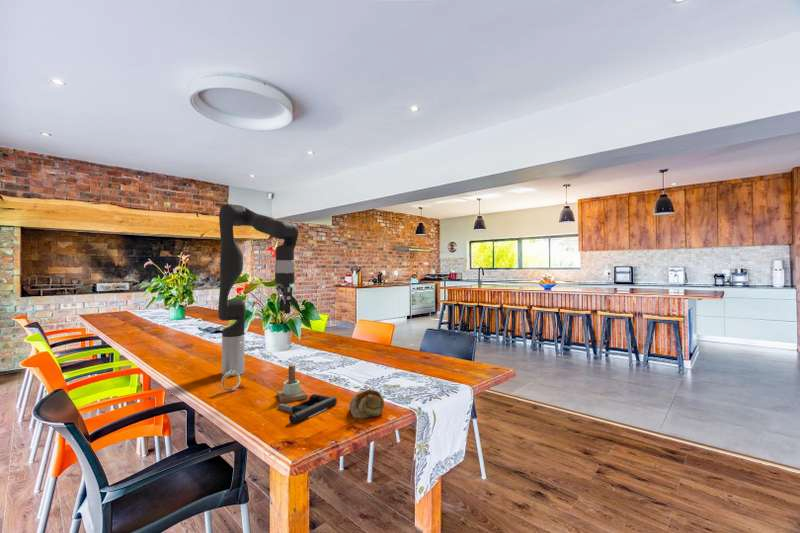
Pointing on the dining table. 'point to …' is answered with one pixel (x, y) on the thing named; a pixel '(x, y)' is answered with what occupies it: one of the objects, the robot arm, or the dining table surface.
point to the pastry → (366, 404)
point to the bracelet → (227, 377)
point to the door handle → (308, 407)
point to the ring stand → (302, 393)
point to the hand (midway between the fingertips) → (284, 312)
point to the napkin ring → (291, 388)
